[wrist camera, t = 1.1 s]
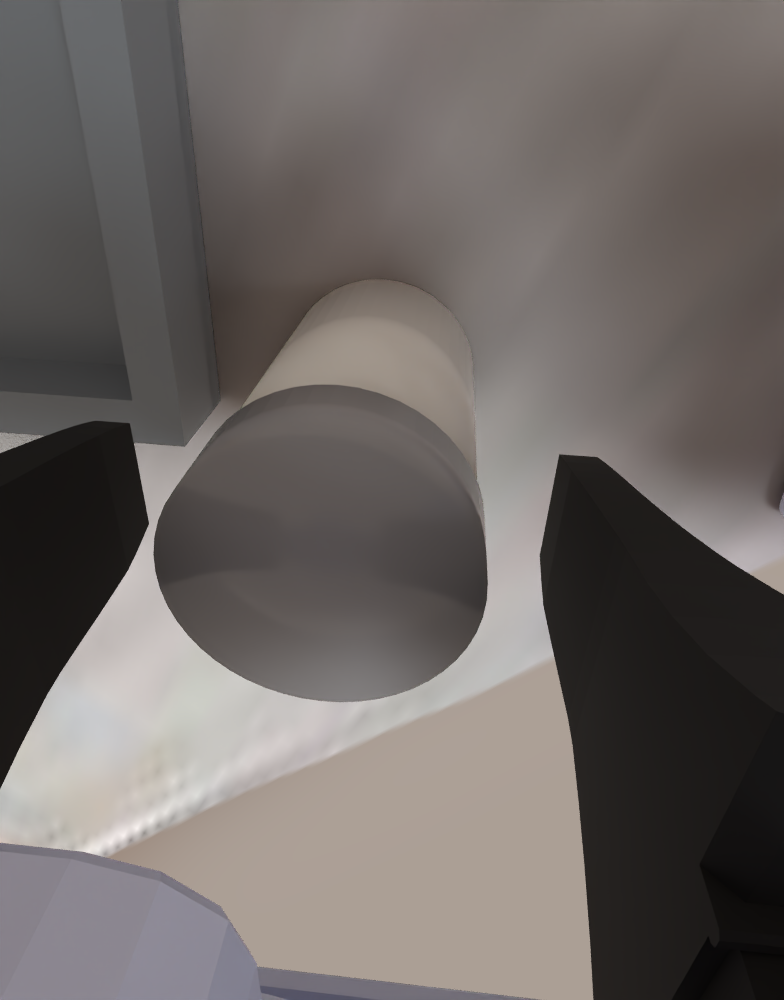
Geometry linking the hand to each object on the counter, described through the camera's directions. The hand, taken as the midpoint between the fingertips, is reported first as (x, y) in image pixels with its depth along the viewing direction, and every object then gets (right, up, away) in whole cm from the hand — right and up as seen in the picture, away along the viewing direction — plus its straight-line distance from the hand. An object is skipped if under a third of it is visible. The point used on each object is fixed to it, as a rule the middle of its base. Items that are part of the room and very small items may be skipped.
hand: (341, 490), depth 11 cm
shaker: (+1, +3, +5) cm, 5 cm away
